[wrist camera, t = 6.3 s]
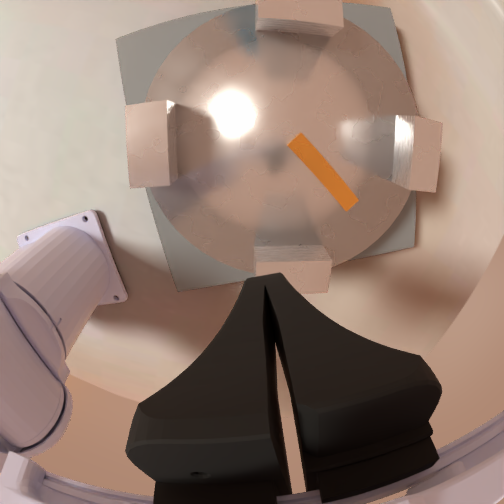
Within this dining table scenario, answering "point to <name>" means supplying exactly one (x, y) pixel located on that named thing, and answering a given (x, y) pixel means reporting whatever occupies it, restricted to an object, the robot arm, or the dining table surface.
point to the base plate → (135, 90)
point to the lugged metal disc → (281, 140)
